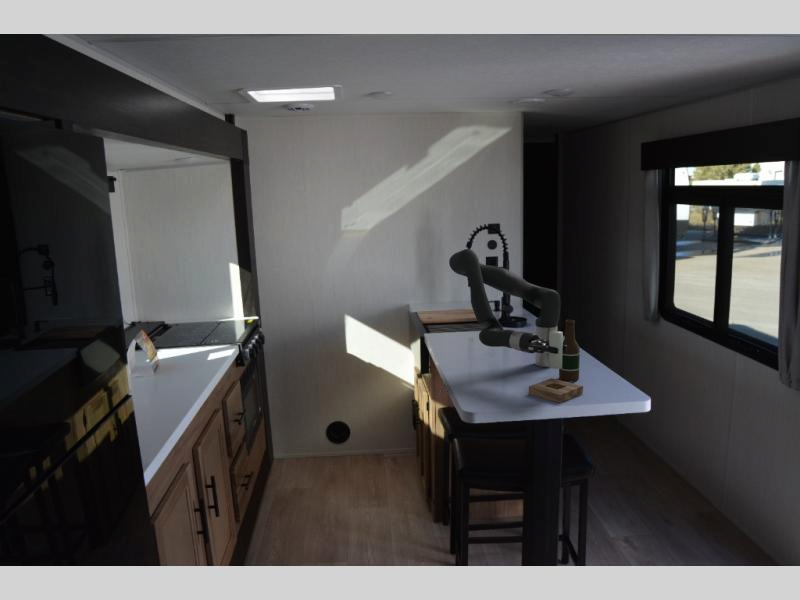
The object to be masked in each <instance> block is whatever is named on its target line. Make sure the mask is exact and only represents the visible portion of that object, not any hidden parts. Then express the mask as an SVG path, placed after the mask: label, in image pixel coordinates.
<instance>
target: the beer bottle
mask: <svg viewBox="0 0 800 600" xmlns="http://www.w3.org/2000/svg"><path fill="white" fill-rule="evenodd" d="M564 322H565V332H564V337H563V345H567V351H562V368H560V369H558V378H559V380H560V381H562V380H563V381H565V382H568V381H573V382H577V381H578V380H579V379H580V359H581V358H580V354H581V352H580V345H579V343H578V341H576V335H575V324H576V320H574V319H566V320H565V321H564Z"/></svg>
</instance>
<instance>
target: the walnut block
mask: <svg viewBox="0 0 800 600" xmlns="http://www.w3.org/2000/svg"><path fill="white" fill-rule="evenodd" d="M582 393H583V394H584V386H583V385H580V384H576V383H573V382H568V381H562V380H561V379H556V378H551V377H550V378H547V379H545V380H542V381H540V382H537V383H535V384H530V385H528V395H530V394H531V396H534V395H535V397H537V396H538V397H539V398H541V397H542V398H541V399H545V400H547V401H548V400H549V401H552V402H557V403H560V404H561V403H564V402H566V401H569V400H572V399H573V398H576V397H578V395H579V396H581V395H583V394H582ZM580 394H581V395H580Z"/></svg>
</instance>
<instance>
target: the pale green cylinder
mask: <svg viewBox="0 0 800 600" xmlns="http://www.w3.org/2000/svg"><path fill="white" fill-rule="evenodd" d="M563 334H564V332H563V331H560V330H557V331H550V332H549V346H551V347H556V348H558V349H559V350H558V354H554V353H549V367H548V368H550V369H553V370H556V369H557V370H559V369H560V368H562V351H563V341H564V335H563Z"/></svg>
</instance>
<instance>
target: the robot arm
mask: <svg viewBox="0 0 800 600" xmlns="http://www.w3.org/2000/svg"><path fill="white" fill-rule="evenodd" d="M448 260H449V262H448V263H449V264H448V265H449V267H450V269H451V271H453V272H454V273H455V274H457V275H460V276H463V277H466V278H467V279H468V283H469V290H470V304H471V308H472V310H473V313H474V314H473V315H474V317H475V318H476V321H477V322H478V323H480V324H481V323H484V324H486V327H485V328H483V329H482V330H480V332H479V333H478V339H479V341H480V343H481V344H482V345H484V346H486V347H493V348H494V347H496V348H497V347H499V348H500V347H505V348H509V349H511V350H515V351H520V352H523V353H528V354H534V365H535V366H537V367H542V368H549V353H554V354H558V350H559V349H558V348H556V347H551V346H549V332H550V331H558V325H559V321H560V318H561V317H560V316H561V315H560V314H561V296H560V293H559V292H557V290H554V289H551V288H547V287H542V286H538V285H535V284H533V283H530V282H528V281H526V279H524V278H523V277H521V276H520V274H519V275H518V274H517V273H515V272H513V271H511V270H509V269H507V268H505V267H500V266H496V265H488V264H483V263H482V262H480V260H479V256H478V254H477V253H476V251H474V250H473V249H471V248H464V249H461V250H460V251H457V252H455V253H453V255H451V256H450V258H449V259H448ZM485 285H487V286H488V287H490V288H493V289H495V290H497V291H500V292H502V293H504V294H507V295H510V296H512V297H516V298H519V299H523V300H524V301H526V302H528V303H529V304H530V305H533V306H534V307H535V308H538V309H540V313H539V314H540V315H539V317H537V318H536V319H535V323H534V324H535V325H534V327H535V328H534V330H535V333H532V332H526V331H521V330H520V331H519V330H515V329H504V328H503V326H502V324H501V323H500V321H499V320H498V319H497V317H496V316H495V314H494V312H493V309H492V307H491V304H490V302H489V298H488V296H487V293H486V288H485ZM563 351H567V345H563Z"/></svg>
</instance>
